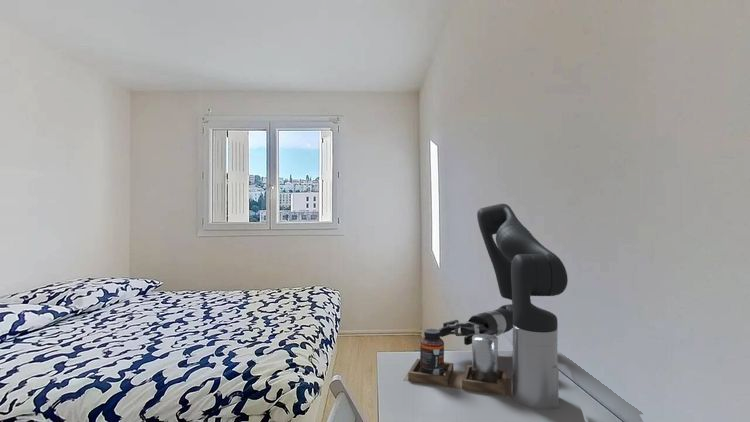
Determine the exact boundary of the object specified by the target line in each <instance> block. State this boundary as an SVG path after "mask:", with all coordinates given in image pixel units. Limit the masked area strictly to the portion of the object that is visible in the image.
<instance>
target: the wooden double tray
mask: <svg viewBox="0 0 750 422" xmlns="http://www.w3.org/2000/svg"><path fill="white" fill-rule="evenodd" d="M454 367H455V365H454V362H447V361H444V375H443V376H440V375H433V374H426V373H420V358H417V359H416V360H415V362H414V363H413V365H412V366H411V368H410V369H409V371H408V372H407V374H406V375H405V377H404V378H403V381H406V382H410V383H411V382H414V383H419V384H425V385H432V386H439V387H445V388H450V389H451V388H452V389H457V390H464V391H471V392H476V393H477V392H478V393H483V394H490V395H495V396H496V395H497V396H504V397H510V398H511V397H512V378H510V377H507V369H500V368H498V384H495V383H488V382H481V381H474V380H472V364H471V365H470V364H466V366H465V370H464V371H461V370H459V371H458V370H454V369H455V368H454Z"/></svg>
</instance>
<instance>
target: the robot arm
mask: <svg viewBox="0 0 750 422" xmlns="http://www.w3.org/2000/svg"><path fill="white" fill-rule="evenodd" d="M476 217H477V223H478V227H479V231H480V233H481V236H482V239H483V242H484V245H485V248H486V251H487V253H488V256H489V259H490V261H491V264H492V267H493V271H494V274H495V278H496V282H497V286H498V291H499V294H500V296H501V298H503V299H505V300H510V301H511V304H510V303H509V304H503V305H501V306H500V307H499V308H498V309H494V310H487V311H484V312H481V313H477V314H474V315H472V316H470V317H469V319H468V320H467V321H465V322H460V321H459V320H458V319H454V320H450V321H446V322H443V325H442V326H443V327H440V328H438V330H439V331H440V338H444V337H447V336H449V335H455V336H456V337H464V340H463V344H464V346H465V345H466V346H469V345H472V336H473V335H476V334H488V335H493V336H495V337H497V338H498V337H499V336H500V335H502V334H505V333H508V332H510V331H511V330H512V388H511V394H512V398H513V399H514V400H515V401H516V402H517V403H519V404H521V405H524V406H526V407H528V408H533V409H538V410H539V409H540V410H547V409H559V391H560V390H559V387H560V386H559V377H560V375H559V371H560V370H559V366H558V328H559V327H558V325H559V324H558V317H557V315H556V314H554V313H553V312H551V311H549V310H546V309H543V308H541V307H539V306H536V305H534V304H533V303H532V300H531V297H555V296H559V295H561V294H563V293H564V292H565V291H566V288H567V286H568V273H567V270H566V267H565V264H564V262H563V261H562V260H561V259H560V257H559V256H558V255H556V254H555V253H554V252H552V251H551V250H549V249H548V248H546V247H545V246H544V245H543V244H541V242H540V241H539V240H538V239H536V238H535V236H534V235H533V234H532V233H531V232H530V230H529V229H527V227H526V226H525V225H523V224H522V222H521V221H520V220H519V219H518V218H517V216H516V214H515V212H514V211H513V210H512V208H511V206H510V205H509V204H506V203H499V204H494V205H490V206H489V205H488V206H485V207H481V208H479V209H478V210H477V213H476ZM493 235H495V239H494V237H493ZM459 329H460V332H459Z"/></svg>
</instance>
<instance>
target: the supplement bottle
mask: <svg viewBox="0 0 750 422" xmlns="http://www.w3.org/2000/svg"><path fill="white" fill-rule="evenodd" d="M423 336H424V337H422V338H421V340H420V344H419V345H420V346H419V347H420V348H419V349H420V350H419V351H420V352H419V353H420V354H419V355H420V357H419V359H420V373H426V374H433V375H440V376H443V375H444V362H445V341H444V340H443V338H442V337H440V331H439V329H436V328H427V329H426V328H425V329H424V333H423Z"/></svg>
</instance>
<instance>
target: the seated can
mask: <svg viewBox="0 0 750 422" xmlns="http://www.w3.org/2000/svg"><path fill="white" fill-rule="evenodd" d="M471 349H472V350H471V366H472V380H474V381H481V382H488V383H495V384H498V369H499V338H498V336H497V337H495V336H493V335H488V334H476V335H473V336H472V344H471Z"/></svg>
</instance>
